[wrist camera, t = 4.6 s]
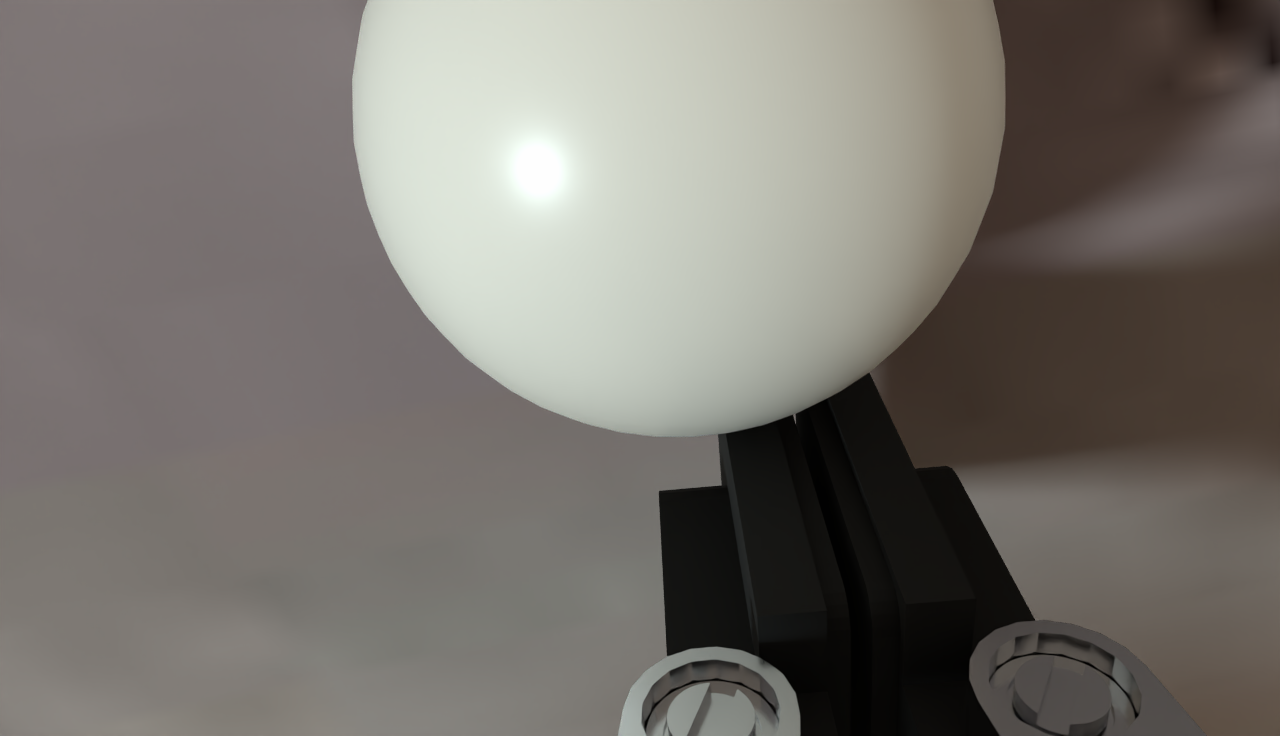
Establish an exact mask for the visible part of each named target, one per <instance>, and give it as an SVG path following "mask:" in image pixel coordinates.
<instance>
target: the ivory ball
mask: <svg viewBox="0 0 1280 736" xmlns="http://www.w3.org/2000/svg"><path fill="white" fill-rule="evenodd" d="M352 88H353V131H354V145H355V151H356V156H357V161H358V167H359V172H360V177H361V181H362V185H363V190H364V194H365V198H366V202H367V205H368V208H369V211H370V213H371V216H372V219H373V221H374V224H375V227H376V230H377V232H378V235H379V237H380V239H381V241H382V244H383V246H384V248H385V250H386V252H387V255H388V257H389V259H390V261H391V263H392V265H393V266H394V268H395V270H396V272H397V273H398V275H399V277H400V278H401V280H402V282H403V283H404V285H405V287H406V288H407V290H408V291H409V293H410V294H411V295H412V297H413V298H414V300H415V301H416V303H417V304H418V305H419V307H420V308H421V310H422V311H423V313H424V314H425V315H426V316H427V318H428V319H429V320H430V321H431V322H432V323H433V324H434V325H435V326H436V327H437V329H438V330H439V331H440V332H441V333H442V334H443V335H444V336H445V337H446V338H447V339H448V340H449V341H450V342H451V343H452V344H453V345H454V346H455V347H456V348H457V349H458V350H459V351H460V352H461V353H462V354H463V356H464V357H465V358H467V359H468V360H469V361H471V362H472V363H473V364H475V365H476V366H477V367H479V368H480V369H481V370H483V371H484V372H485V373H487V374H488V375H490V376H491V377H492V378H494V379H495V380H496V381H498V382H499V383H501V384H502V385H503V386H505V387H506V388H508V389H509V390H511V391H512V392H514V393H516V394H518V395H520V396H521V397H523V398H525V399H527V400H529V401H531V402H533V403H534V404H536V405H538V406H540V407H542V408H545V409H547V410H550V411H552V412H555V413H558V414H560V415H563V416H566V417H568V418H571V419H573V420H576V421H579V422H582V423H585V424H588V425H593V426H597V427H601V428H605V429H609V430H613V431H617V432H621V433H629V434H638V435H646V436H654V437H696V436H705V435H715V434H724V433H730V432H735V431H739V430H744V429H748V428H753V427H757V426H762V425H765V424H768V423H771V422H773V421H776V420H779V419H782V418H785V417H788V416H791V415H793V414H796V413H798V412H800V411H802V410H804V409H806V408H809V407H811V406H813V405H815V404H817V403H819V402H821V401H823V400H825V399H827V398H829V397H831V396H833V395H834V394H836V393H838V392H840V391H842V390H843V389H845V388H846V387H848V386H849V385H851V384H852V383H854V382H855V381H857V380H858V379H860V378H861V377H863V376H864V375H866V374H867V373H869V372H871V371H872V370H873V369H874V368H875V367H876V366H878V365H879V364H880V363H881V362H882V361H883V360H884V359H886V358H887V357H888V356H889V355H890V354H891V353H892V352H894V351H895V350H896V349H897V348H898V347H899V346H900V345H901V344H902V343H903V342H904V341H905V340H906V339H907V338H908V337H909V336H910V335H911V334H912V333H913V332H914V331H915V330H916V329H917V328H918V326H919V325H920V324H921V323H922V322H923V321H924V319H925V318H926V317H927V316H928V315H929V314H930V312H931V311H932V310H933V309H934V308H935V307H936V305H937V304H938V302H939V301H940V299H941V298H942V296H943V294H944V293H945V291H946V290H947V288H948V287H949V285H950V283H951V282H952V280H953V279H954V277H955V275H956V274H957V272H958V270H959V269H960V267H961V265H962V264H963V262H964V261H965V259H966V257H967V256H968V254H969V252H970V250H971V247H972V245H973V242H974V240H975V237H976V235H977V232H978V230H979V227H980V224H981V222H982V219H983V217H984V214H985V212H986V209H987V206H988V204H989V201H990V199H991V196H992V193H993V190H994V185H995V179H996V174H997V169H998V163H999V158H1000V152H1001V147H1002V142H1003V136H1004V131H1005V59H1004V53H1003V47H1002V41H1001V36H1000V30H999V24H998V20H997V15H996V11H995V7H994V2H993V0H368V1H367V4H366V7H365V10H364V13H363V16H362V21H361V27H360V33H359V39H358V46H357V52H356V58H355V65H354V71H353V78H352Z"/></svg>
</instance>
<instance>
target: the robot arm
mask: <svg viewBox="0 0 1280 736" xmlns="http://www.w3.org/2000/svg"><path fill="white" fill-rule="evenodd" d="M718 438H719V453H720V467H721V481H722V486H711V487H700V488H688V489H677V490H665V491H659V506H660V526H661V545H662V565H663V585H664V605H665V625H666V644H667V657H666V658H664V659H663V660H661V661H659V662H658V663H656V664H655V665H653V666H652V667H650V668H649V669H647V670H646V671H645V672H644V673H643V674H642V676H641V677H640V678H639V679H638V680H637V681H636V683H635V684H634V685H633V686H632V687H631V690H630V692H629V695H628V697H627V700H626V702H625V705H624V707H623V712H622V717H621V722H620V727H619V733H618V736H1206V734H1205V733H1204V732H1203V731H1202V730H1201V729H1200V727H1199V726H1198V725H1197V724H1196V723H1195V722H1194V720H1193V719H1192V718H1191V717H1190V716H1189V715H1188V714H1187V712H1186V711H1185V710H1184V709H1183V708H1182V707H1181V705H1180V704H1179V703H1178V702H1177V701H1176V700H1175V699H1174V697H1173V696H1172V695H1171V694H1170V693H1169V692H1168V690H1167V689H1166V688H1165V687H1164V686H1163V685H1162V683H1161V682H1160V681H1159V680H1158V679H1157V678H1156V677H1155V675H1154V674H1153V673H1152V672H1151V671H1150V670H1149V668H1148V667H1147V666H1146V665H1145V664H1144V663H1142V662H1141V661H1140V660H1139V659H1138V658H1137V657H1136V656H1135V655H1133V654H1132V653H1131V652H1130V651H1129V650H1128V649H1127V648H1126V647H1124V646H1122V645H1120V644H1118V643H1117V642H1115V641H1113V640H1111V639H1110V638H1108V637H1106V636H1104V635H1103V634H1101V633H1098V632H1095V631H1092V630H1089V629H1086V628H1083V627H1080V626H1077V625H1074V624H1069V623H1062V622H1054V621H1047V620H1039V621H1035V619H1034V617H1033V615H1032V614H1031V612H1030V610H1029V608H1028V606H1027V604H1026V602H1025V601H1024V599H1023V597H1022V595H1021V593H1020V591H1019V589H1018V588H1017V586H1016V584H1015V582H1014V580H1013V578H1012V576H1011V575H1010V573H1009V571H1008V569H1007V567H1006V565H1005V563H1004V562H1003V560H1002V558H1001V556H1000V554H999V552H998V550H997V548H996V547H995V545H994V543H993V541H992V539H991V537H990V535H989V534H988V532H987V530H986V528H985V526H984V524H983V522H982V521H981V519H980V517H979V515H978V513H977V511H976V509H975V508H974V506H973V504H972V502H971V500H970V498H969V496H968V495H967V493H966V491H965V489H964V487H963V485H962V483H961V482H960V480H959V478H958V476H957V475H956V473H955V472H954V470H953V469H952V468H950V467H948V466H941V467H929V468H918V469H915V468H914V466H913V464H912V462H911V460H910V457H909V455H908V453H907V451H906V449H905V447H904V445H903V443H902V441H901V438H900V436H899V434H898V432H897V430H896V428H895V426H894V424H893V422H892V419H891V417H890V415H889V413H888V411H887V409H886V407H885V405H884V403H883V401H882V398H881V396H880V394H879V392H878V390H877V388H876V386H875V384H874V382H873V379H872V377H871V375H870V373H867V374H866V375H864V376H863V377H861V378H860V379H858V380H857V381H855V382H854V383H852V384H851V385H849V386H848V387H846V388H845V389H843V390H842V391H840V392H838V393H836V394H834V395H833V396H831V397H829V398H827V399H825V400H823V401H821V402H819V403H817V404H815V405H813V406H811V407H809V408H806V409H804V410H802V411H800V412H798V413H796V424H795V420H794V417H793V415H791V416H788V417H785V418H782V419H779V420H776V421H773V422H771V423H768V424H765V425H762V426H757V427H753V428H748V429H744V430H739V431H735V432H730V433H724V434H718Z"/></svg>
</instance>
